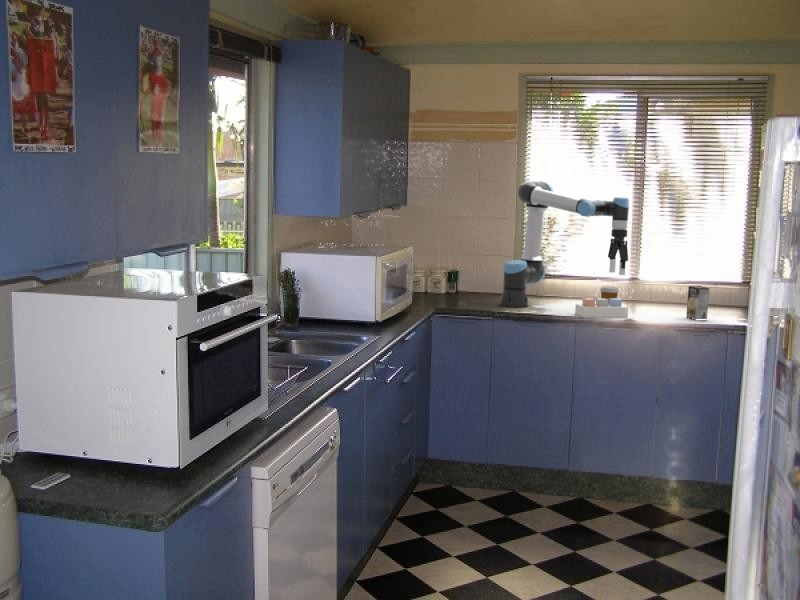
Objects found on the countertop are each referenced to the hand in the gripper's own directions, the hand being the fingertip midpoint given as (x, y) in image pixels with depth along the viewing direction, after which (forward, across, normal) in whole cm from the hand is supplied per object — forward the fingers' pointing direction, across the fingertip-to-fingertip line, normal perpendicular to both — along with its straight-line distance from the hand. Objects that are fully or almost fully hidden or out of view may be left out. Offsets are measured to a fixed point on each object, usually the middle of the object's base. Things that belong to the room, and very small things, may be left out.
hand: (616, 273), depth 451 cm
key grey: (+19, 0, +7) cm, 20 cm away
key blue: (+19, 0, 0) cm, 19 cm away
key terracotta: (+19, 0, +14) cm, 23 cm away
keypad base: (+21, 0, +7) cm, 22 cm away
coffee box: (+21, -12, -38) cm, 45 cm away
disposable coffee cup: (+21, +16, -4) cm, 27 cm away
